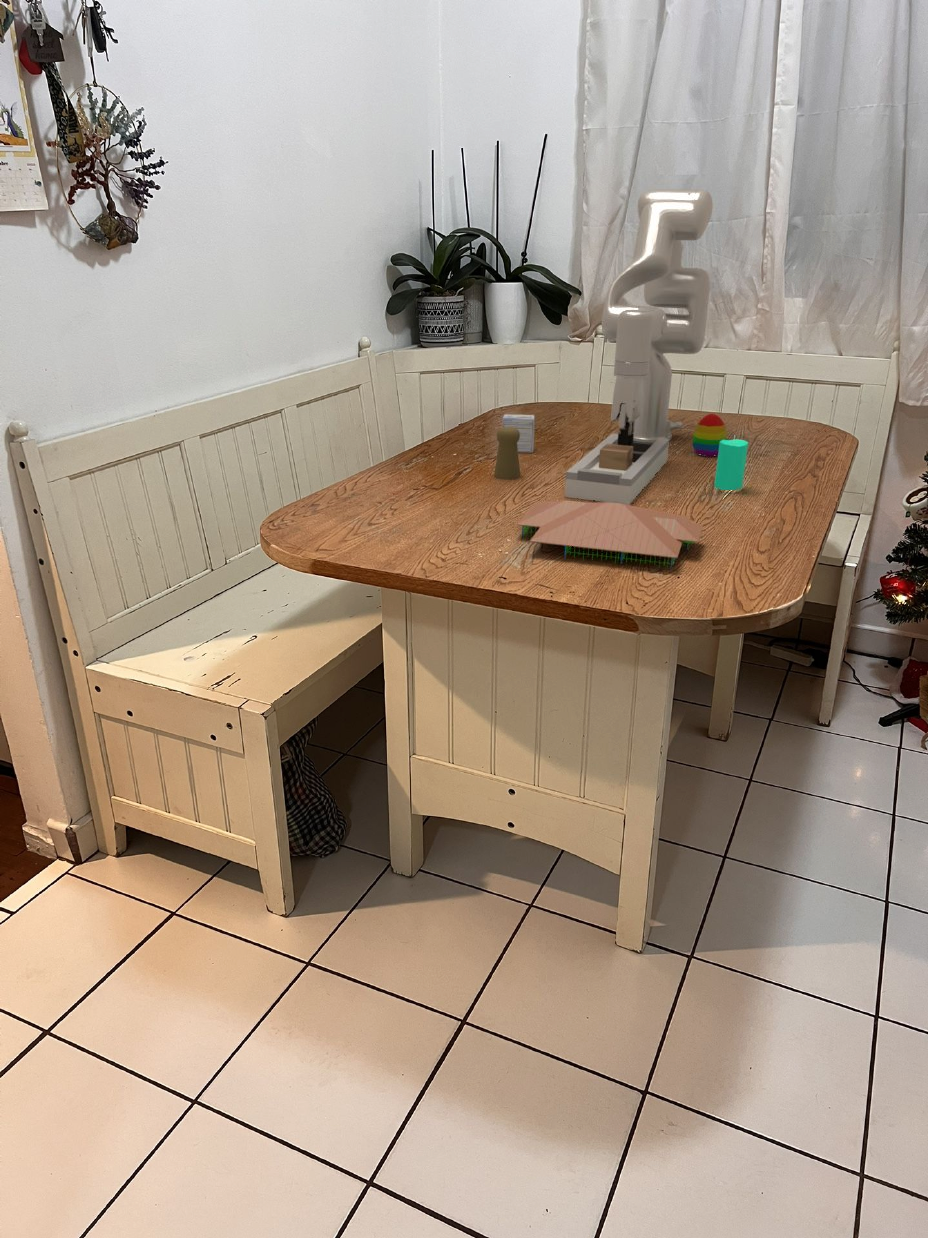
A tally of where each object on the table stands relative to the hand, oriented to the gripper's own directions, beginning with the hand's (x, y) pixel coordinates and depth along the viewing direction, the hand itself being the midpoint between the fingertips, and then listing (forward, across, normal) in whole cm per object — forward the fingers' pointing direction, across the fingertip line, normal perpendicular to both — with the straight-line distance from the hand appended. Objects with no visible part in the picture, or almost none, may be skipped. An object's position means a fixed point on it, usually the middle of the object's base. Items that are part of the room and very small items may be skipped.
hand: (624, 451), depth 211 cm
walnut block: (+2, +8, 0) cm, 8 cm away
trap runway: (+6, +3, 0) cm, 6 cm away
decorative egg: (+5, -27, +15) cm, 32 cm away
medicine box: (+6, -11, -30) cm, 32 cm away
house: (+7, +46, +9) cm, 48 cm away
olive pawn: (+6, +12, -24) cm, 27 cm away
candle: (+6, +2, +24) cm, 25 cm away
